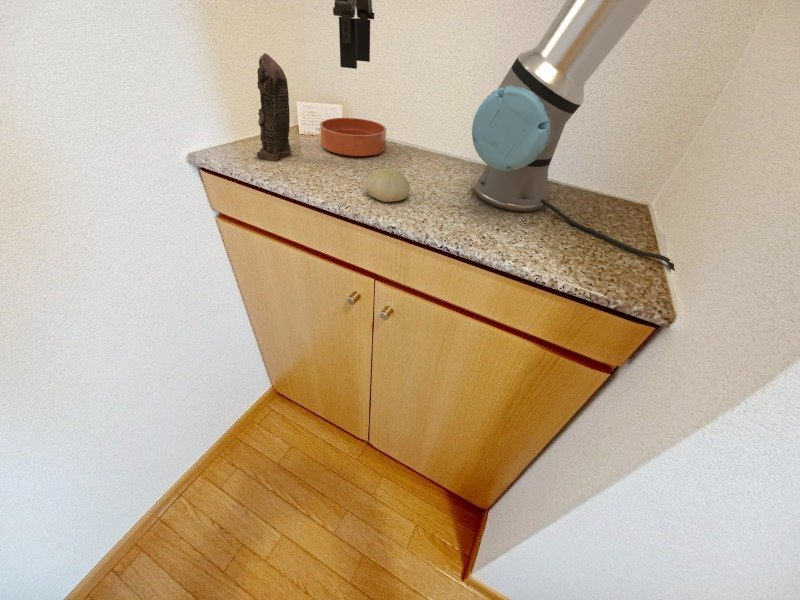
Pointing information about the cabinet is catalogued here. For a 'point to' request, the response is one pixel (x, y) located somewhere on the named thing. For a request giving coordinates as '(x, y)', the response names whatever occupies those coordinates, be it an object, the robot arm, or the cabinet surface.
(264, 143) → the statue
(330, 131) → the bowl
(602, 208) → the cabinet surface
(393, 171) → the sea urchin shell
